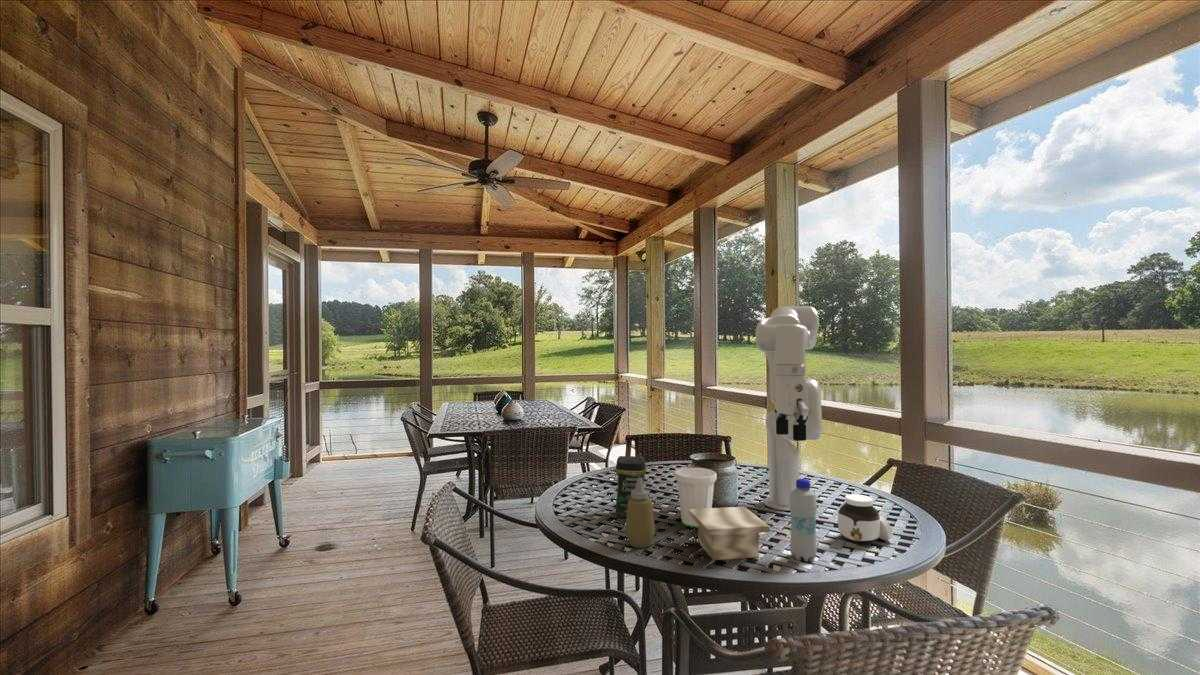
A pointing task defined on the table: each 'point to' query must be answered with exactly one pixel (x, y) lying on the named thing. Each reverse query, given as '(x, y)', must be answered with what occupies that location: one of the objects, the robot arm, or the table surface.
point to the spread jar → (862, 521)
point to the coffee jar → (628, 480)
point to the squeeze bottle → (640, 517)
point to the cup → (694, 491)
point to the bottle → (803, 521)
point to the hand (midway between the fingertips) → (790, 437)
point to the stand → (729, 532)
